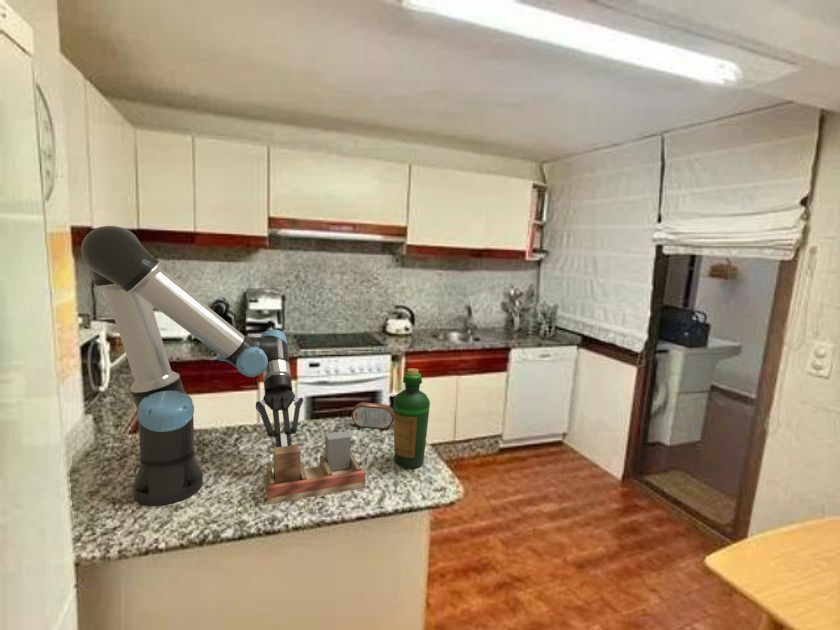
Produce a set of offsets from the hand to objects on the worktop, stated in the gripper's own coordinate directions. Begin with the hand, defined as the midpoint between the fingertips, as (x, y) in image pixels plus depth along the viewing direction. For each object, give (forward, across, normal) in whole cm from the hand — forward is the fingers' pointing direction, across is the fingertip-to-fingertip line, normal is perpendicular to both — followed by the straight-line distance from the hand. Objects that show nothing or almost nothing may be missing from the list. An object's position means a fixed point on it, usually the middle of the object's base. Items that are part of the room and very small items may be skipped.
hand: (285, 459), depth 117 cm
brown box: (+6, 0, 0) cm, 6 cm away
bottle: (+5, -35, -4) cm, 35 cm away
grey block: (+3, -14, -4) cm, 15 cm away
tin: (-15, -33, -24) cm, 44 cm away
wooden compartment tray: (+7, -7, -2) cm, 10 cm away
